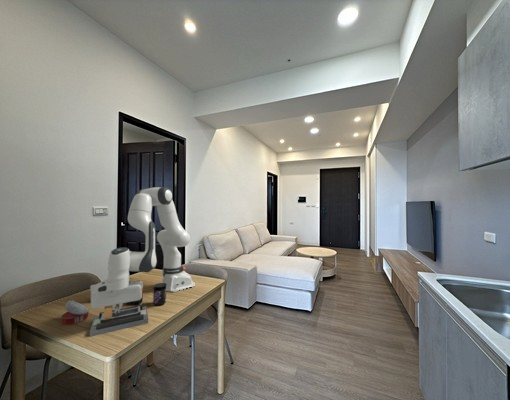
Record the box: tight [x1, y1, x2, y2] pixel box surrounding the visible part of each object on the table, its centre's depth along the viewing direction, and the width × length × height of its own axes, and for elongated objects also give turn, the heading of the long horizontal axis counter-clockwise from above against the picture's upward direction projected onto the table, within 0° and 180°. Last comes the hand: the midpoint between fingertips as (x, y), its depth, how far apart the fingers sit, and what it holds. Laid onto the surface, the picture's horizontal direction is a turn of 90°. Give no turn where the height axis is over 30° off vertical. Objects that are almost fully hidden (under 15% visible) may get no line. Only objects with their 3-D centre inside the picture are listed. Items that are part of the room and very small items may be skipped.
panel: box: [89, 304, 149, 337], centre depth 100 cm, size 22×14×4 cm, turn 121°
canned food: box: [61, 300, 90, 326], centre depth 102 cm, size 11×10×10 cm
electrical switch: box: [89, 283, 98, 303], centre depth 124 cm, size 9×5×9 cm, turn 141°
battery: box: [126, 287, 144, 306], centre depth 120 cm, size 4×7×10 cm, turn 83°
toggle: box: [103, 305, 114, 319], centre depth 97 cm, size 3×4×6 cm
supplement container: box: [152, 282, 167, 307], centre depth 120 cm, size 7×7×10 cm
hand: (117, 312), depth 99 cm, fingers closed
